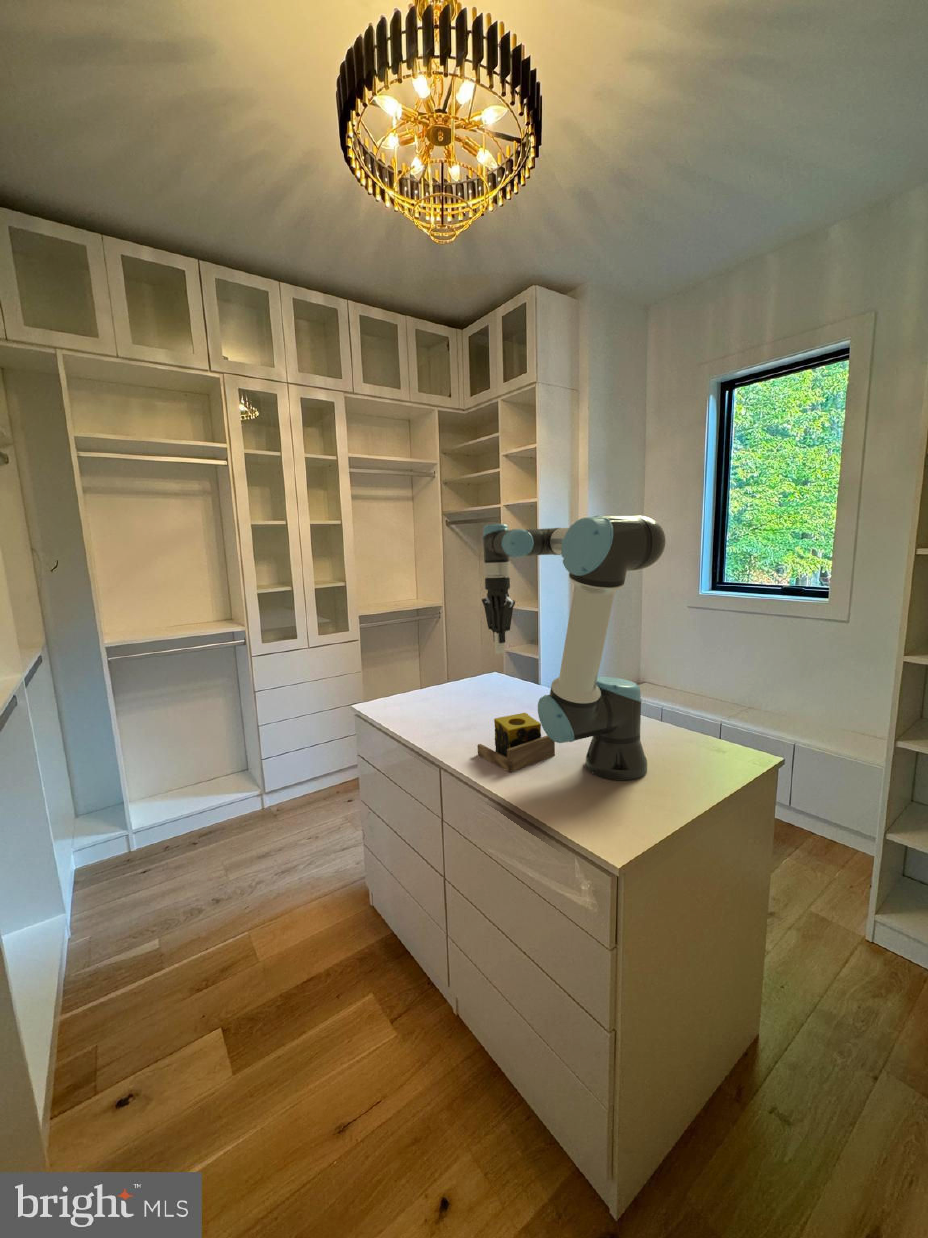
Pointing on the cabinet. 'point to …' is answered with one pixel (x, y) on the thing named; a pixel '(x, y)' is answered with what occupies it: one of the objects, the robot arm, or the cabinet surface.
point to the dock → (520, 754)
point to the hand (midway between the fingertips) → (499, 652)
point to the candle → (515, 731)
